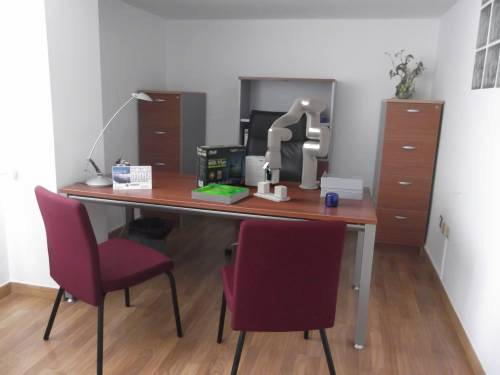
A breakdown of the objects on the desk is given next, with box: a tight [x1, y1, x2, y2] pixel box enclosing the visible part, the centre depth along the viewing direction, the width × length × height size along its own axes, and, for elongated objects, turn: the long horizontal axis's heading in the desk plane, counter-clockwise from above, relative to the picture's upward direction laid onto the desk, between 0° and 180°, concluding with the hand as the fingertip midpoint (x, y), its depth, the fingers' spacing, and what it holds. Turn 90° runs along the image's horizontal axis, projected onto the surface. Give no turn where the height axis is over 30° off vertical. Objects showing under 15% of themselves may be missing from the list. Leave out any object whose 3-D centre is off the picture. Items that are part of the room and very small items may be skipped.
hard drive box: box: [244, 155, 266, 187], centre depth 280 cm, size 16×8×20 cm, turn 63°
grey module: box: [266, 169, 280, 185], centre depth 245 cm, size 5×6×8 cm
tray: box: [191, 184, 250, 205], centre depth 244 cm, size 25×25×5 cm
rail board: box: [253, 182, 291, 203], centre depth 247 cm, size 10×21×8 cm, turn 44°
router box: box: [195, 144, 247, 188], centre depth 277 cm, size 36×11×27 cm, turn 134°
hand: (272, 179), depth 245 cm, fingers closed on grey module, 5 cm apart
